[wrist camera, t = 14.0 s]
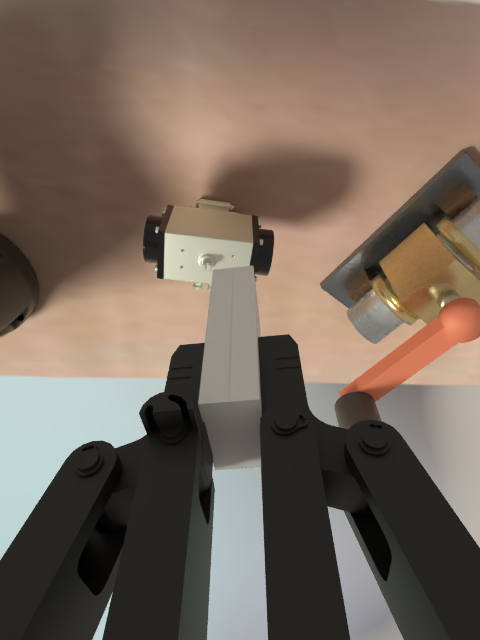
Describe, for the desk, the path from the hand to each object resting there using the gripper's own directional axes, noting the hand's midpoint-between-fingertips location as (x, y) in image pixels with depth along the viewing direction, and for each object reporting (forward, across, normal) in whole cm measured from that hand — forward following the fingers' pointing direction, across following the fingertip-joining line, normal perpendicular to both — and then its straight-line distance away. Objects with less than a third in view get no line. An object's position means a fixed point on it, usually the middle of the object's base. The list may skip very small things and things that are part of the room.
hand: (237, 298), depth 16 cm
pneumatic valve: (+31, -4, -9) cm, 32 cm away
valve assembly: (+30, +18, -15) cm, 38 cm away
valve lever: (+17, +13, -20) cm, 29 cm away
